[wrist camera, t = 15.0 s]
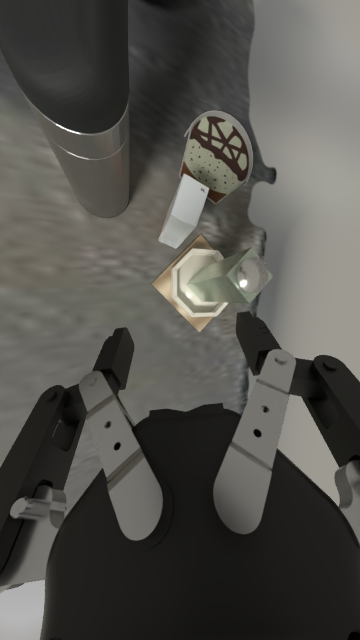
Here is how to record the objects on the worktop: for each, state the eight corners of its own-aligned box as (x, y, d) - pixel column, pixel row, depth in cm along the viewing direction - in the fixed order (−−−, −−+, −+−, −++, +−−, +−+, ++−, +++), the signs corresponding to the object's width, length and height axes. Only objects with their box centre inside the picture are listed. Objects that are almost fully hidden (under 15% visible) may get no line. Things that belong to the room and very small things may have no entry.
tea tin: (186, 284, 37) (228, 274, 21) (201, 268, 37) (255, 245, 21) (201, 301, 38) (252, 303, 22) (216, 285, 39) (276, 276, 23)
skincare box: (166, 212, 35) (184, 170, 24) (185, 222, 36) (211, 187, 25) (156, 241, 35) (169, 213, 24) (176, 250, 36) (197, 228, 25)
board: (151, 283, 36) (151, 283, 35) (200, 234, 37) (201, 234, 37) (198, 331, 40) (199, 332, 40) (240, 285, 42) (241, 285, 41)
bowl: (156, 283, 36) (158, 282, 33) (200, 239, 37) (205, 234, 35) (199, 327, 40) (204, 329, 37) (238, 285, 41) (245, 284, 39)
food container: (233, 183, 38) (267, 145, 29) (221, 209, 38) (251, 179, 29) (185, 144, 35) (206, 85, 25) (172, 171, 34) (188, 123, 25)
